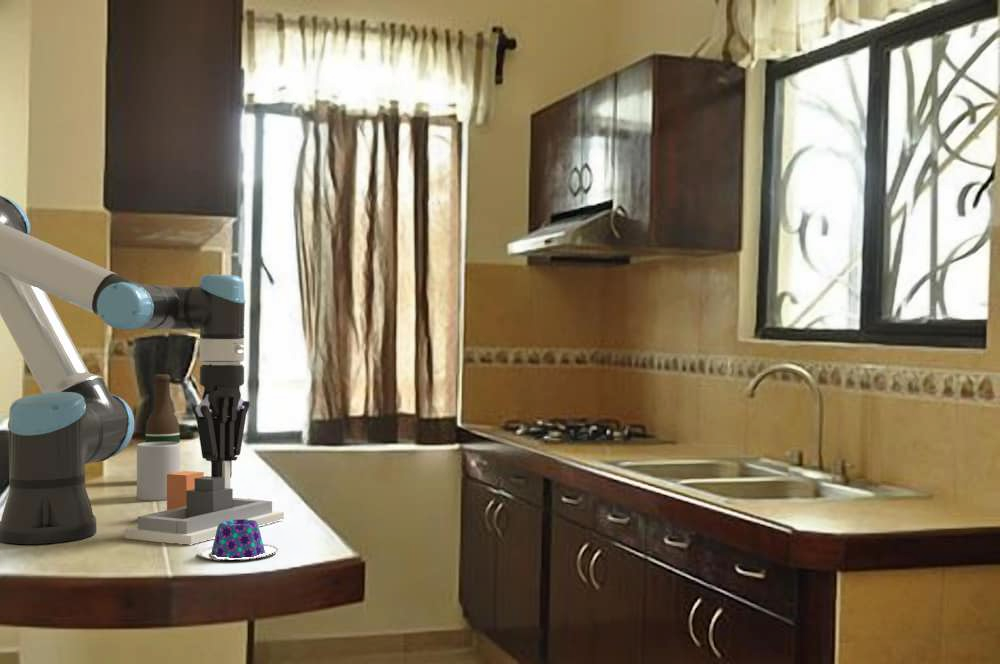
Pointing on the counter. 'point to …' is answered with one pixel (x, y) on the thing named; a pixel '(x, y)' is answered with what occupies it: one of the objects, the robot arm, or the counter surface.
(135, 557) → the counter surface
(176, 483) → the block
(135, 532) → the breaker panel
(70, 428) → the robot arm
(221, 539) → the pudding
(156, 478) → the mug
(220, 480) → the handle
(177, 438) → the beer bottle
